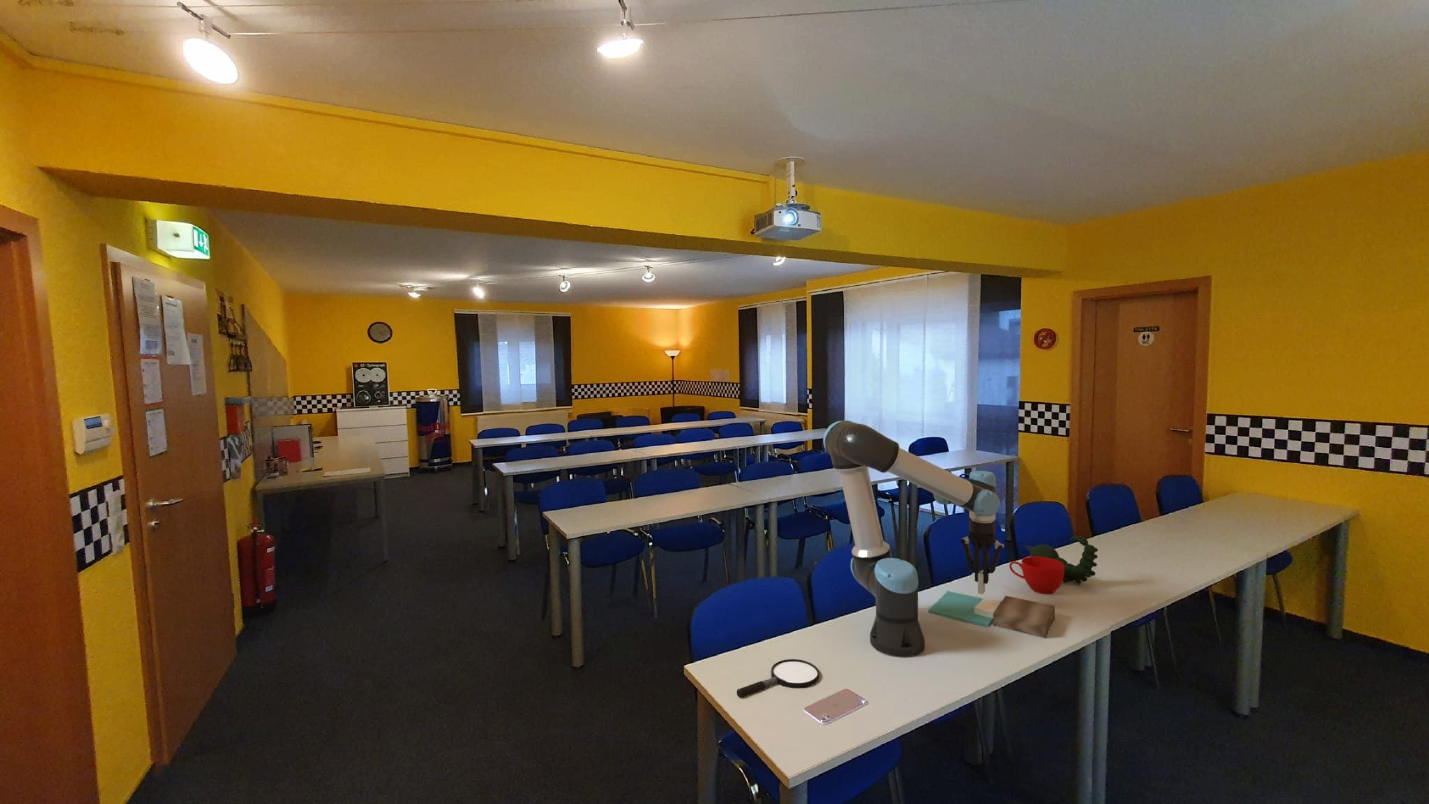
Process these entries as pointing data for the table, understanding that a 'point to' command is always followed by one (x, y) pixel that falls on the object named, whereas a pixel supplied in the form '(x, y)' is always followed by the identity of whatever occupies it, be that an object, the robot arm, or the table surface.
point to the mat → (959, 608)
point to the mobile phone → (834, 706)
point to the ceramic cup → (1041, 573)
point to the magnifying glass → (785, 677)
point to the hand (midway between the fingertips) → (981, 592)
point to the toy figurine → (1070, 570)
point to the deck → (1024, 616)
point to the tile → (986, 608)
